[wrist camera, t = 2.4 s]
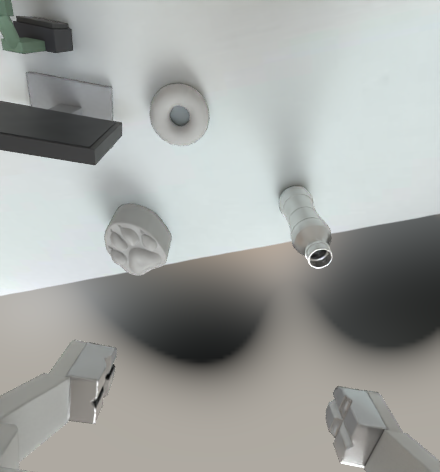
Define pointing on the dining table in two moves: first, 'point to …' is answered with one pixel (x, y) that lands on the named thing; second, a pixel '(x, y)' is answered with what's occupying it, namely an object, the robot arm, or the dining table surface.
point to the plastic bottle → (306, 226)
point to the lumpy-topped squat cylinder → (137, 239)
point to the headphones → (32, 33)
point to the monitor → (61, 120)
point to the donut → (190, 101)
